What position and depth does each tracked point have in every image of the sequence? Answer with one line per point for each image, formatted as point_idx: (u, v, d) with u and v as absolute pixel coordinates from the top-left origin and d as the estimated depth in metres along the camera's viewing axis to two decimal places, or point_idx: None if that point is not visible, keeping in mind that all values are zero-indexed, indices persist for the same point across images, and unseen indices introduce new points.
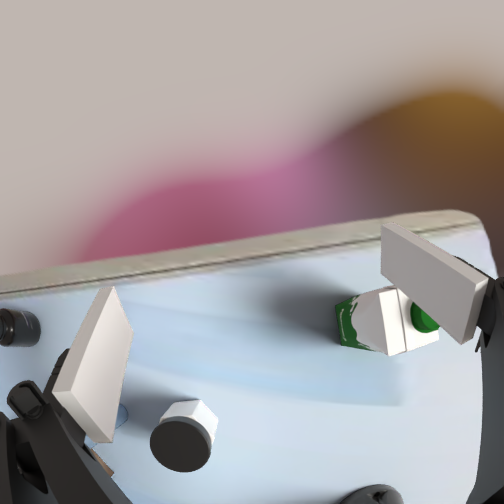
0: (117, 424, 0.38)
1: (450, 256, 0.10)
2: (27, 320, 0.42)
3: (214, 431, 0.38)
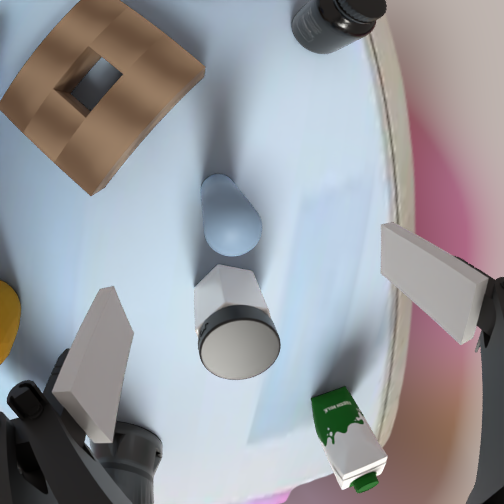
0: None
1: (450, 256, 0.10)
2: (347, 44, 0.26)
3: None
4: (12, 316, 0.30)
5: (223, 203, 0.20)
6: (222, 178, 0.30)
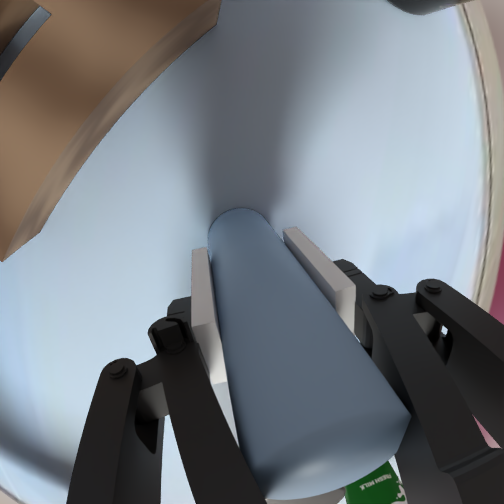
0: None
1: (328, 261, 0.11)
2: (458, 4, 0.11)
3: None
4: None
5: (323, 428, 0.05)
6: (255, 227, 0.15)
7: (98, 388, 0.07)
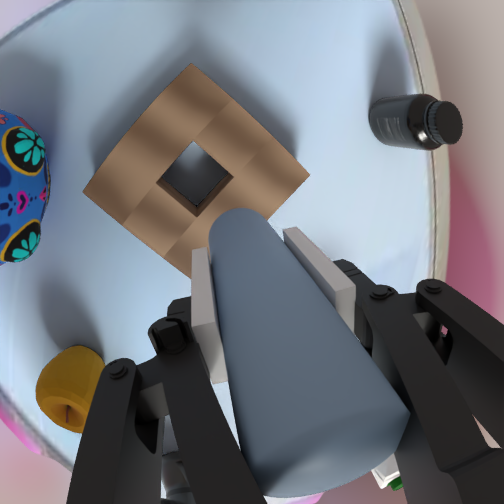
0: None
1: (328, 261, 0.11)
2: None
3: None
4: None
5: (323, 425, 0.05)
6: (255, 227, 0.15)
7: (98, 388, 0.07)
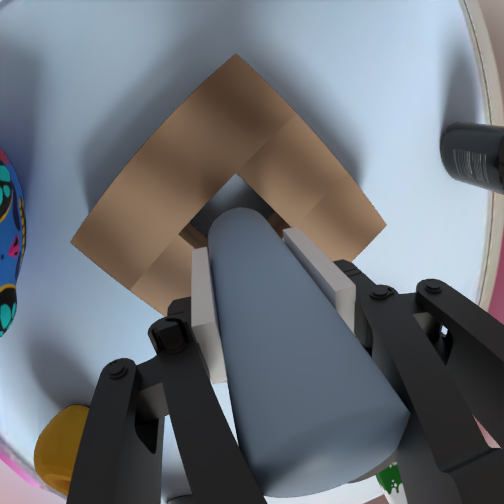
0: None
1: (328, 261, 0.11)
2: None
3: None
4: None
5: (322, 424, 0.05)
6: (255, 226, 0.15)
7: (98, 388, 0.07)
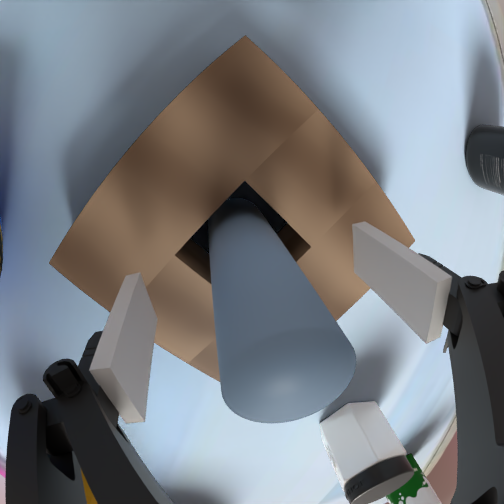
0: None
1: (416, 255, 0.11)
2: None
3: None
4: None
5: (273, 336, 0.07)
6: (246, 212, 0.17)
7: (11, 424, 0.05)
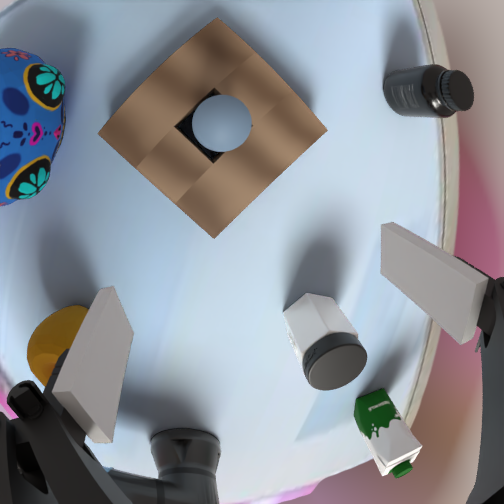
0: None
1: (450, 256, 0.10)
2: None
3: None
4: None
5: (213, 97, 0.18)
6: None
7: None
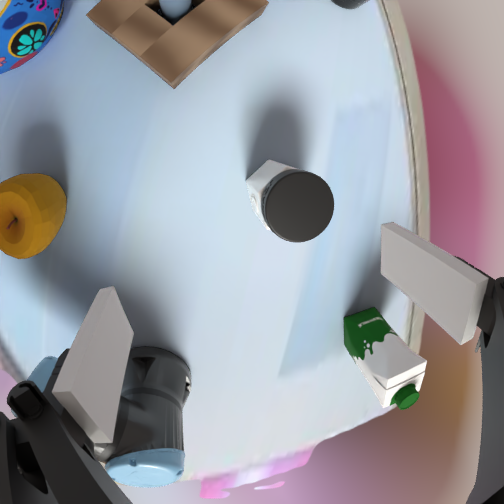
0: (172, 13, 0.28)
1: (450, 256, 0.10)
2: (367, 1, 0.31)
3: None
4: (61, 204, 0.34)
5: None
6: None
7: None
